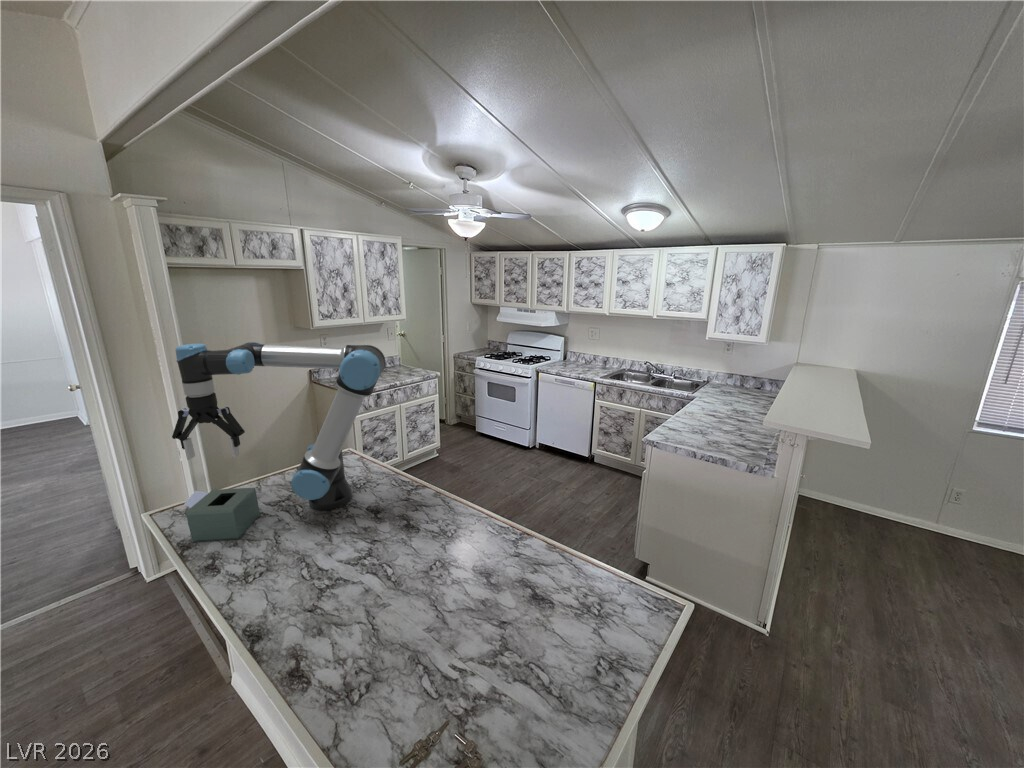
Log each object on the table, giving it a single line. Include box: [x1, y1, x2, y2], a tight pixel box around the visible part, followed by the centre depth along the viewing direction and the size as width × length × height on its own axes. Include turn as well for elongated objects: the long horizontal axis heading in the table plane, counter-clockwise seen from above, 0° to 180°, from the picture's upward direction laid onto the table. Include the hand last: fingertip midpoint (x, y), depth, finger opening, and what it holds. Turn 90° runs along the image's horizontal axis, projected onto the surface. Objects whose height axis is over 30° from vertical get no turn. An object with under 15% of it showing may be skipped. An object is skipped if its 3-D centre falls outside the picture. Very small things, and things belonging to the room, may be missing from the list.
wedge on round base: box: [183, 490, 209, 509], centre depth 146 cm, size 9×7×13 cm
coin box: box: [185, 487, 261, 543], centre depth 135 cm, size 14×14×11 cm
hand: (213, 457), depth 130 cm, fingers open, 13 cm apart
